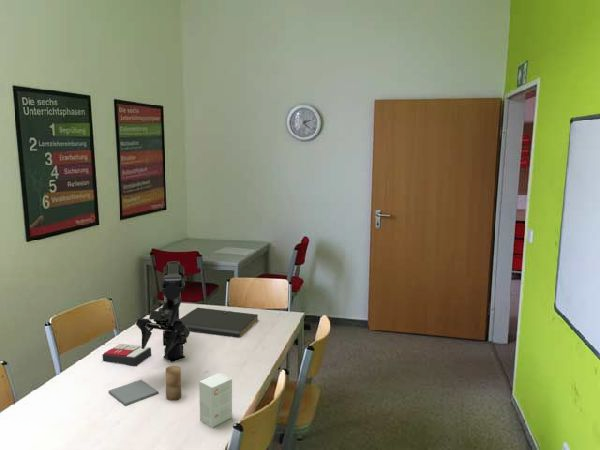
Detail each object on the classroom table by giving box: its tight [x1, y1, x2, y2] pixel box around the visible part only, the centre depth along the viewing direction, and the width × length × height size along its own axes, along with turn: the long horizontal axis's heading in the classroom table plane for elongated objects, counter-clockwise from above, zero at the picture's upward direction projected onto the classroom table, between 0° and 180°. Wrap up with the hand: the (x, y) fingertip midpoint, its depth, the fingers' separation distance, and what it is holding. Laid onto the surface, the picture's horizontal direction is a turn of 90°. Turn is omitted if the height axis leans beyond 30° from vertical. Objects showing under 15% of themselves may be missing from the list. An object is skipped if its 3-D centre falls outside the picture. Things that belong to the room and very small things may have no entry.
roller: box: [165, 365, 182, 402], centre depth 163 cm, size 5×5×10 cm
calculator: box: [101, 343, 152, 367], centre depth 192 cm, size 11×4×15 cm
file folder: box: [179, 307, 259, 338], centre depth 232 cm, size 33×4×24 cm
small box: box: [198, 372, 233, 429], centre depth 149 cm, size 8×6×13 cm
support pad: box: [108, 379, 160, 407], centre depth 165 cm, size 12×12×1 cm
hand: (154, 350), depth 167 cm, fingers open, 9 cm apart
